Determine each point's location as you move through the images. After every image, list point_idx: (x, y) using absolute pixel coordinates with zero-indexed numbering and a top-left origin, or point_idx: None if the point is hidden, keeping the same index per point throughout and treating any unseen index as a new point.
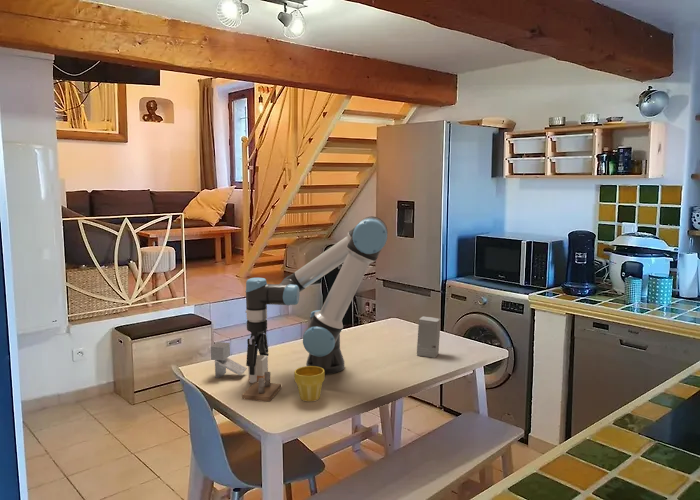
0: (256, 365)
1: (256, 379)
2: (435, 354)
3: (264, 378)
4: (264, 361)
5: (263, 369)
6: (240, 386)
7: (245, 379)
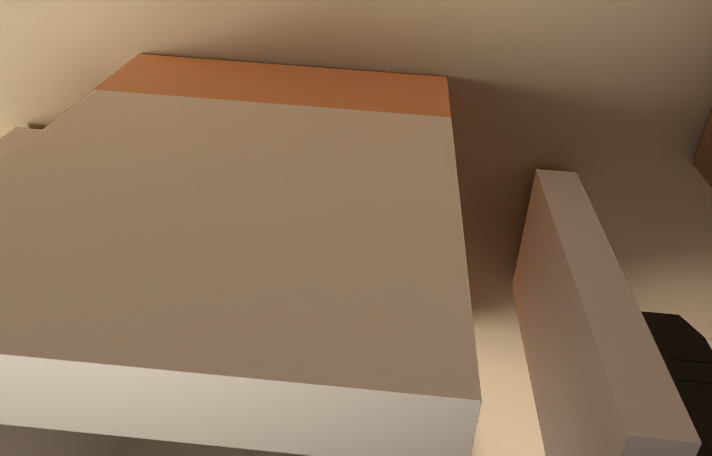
0: (639, 439)
1: (580, 204)
2: None
3: (350, 77)
4: (241, 292)
5: (386, 176)
6: None
7: None
